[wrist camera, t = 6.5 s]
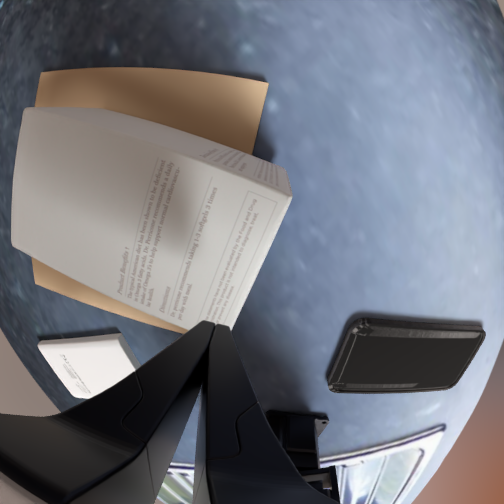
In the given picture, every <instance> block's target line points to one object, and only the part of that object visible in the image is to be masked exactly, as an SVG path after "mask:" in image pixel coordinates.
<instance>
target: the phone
mask: <svg viewBox="0 0 504 504" xmlns="http://www.w3.org/2000/svg"><path fill="white" fill-rule="evenodd" d="M485 336H486V333H485V331H484V330H483V329H482V328H481V327H480V326H467V325H448V324H433V323H419V322H406V321H394V320H383V319H373V318H361V319H357V320H356V321H354V322H353V323H352V324H351V325H350V326H349V328H348V330H347V333H346V335H345V338H344V340H343V343H342V345H341V348H340V350H339V353H338V355H337V357H336V360H335V362H334V365H333V367H332V369H331V371H330V374H329V376H328V379H327V382H328V387H329V390H330V391H332V392H335V393H358V394H383V393H413V392H429V391H441V390H448V389H450V388H452V387H453V386H455V385H456V384H457V383H458V381H459V380H460V378H461V377H462V375H463V374H464V372H465V371H466V369H467V368H468V366H469V365H470V363H471V361H472V360H473V358H474V356H475V355H476V353H477V351H478V350H479V348H480V346H481V345H482V343H483V341H484V339H485Z"/></svg>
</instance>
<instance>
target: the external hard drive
mask: <svg viewBox="0 0 504 504" xmlns="http://www.w3.org/2000/svg"><path fill="white" fill-rule="evenodd" d="M38 347H39V350H40V351H41V353H42V354H43V356H44V357H45V359H46V360H47V362H48V363H49V364H50V366H51V367H52V369H53V370H54V371H55V373H56V374H57V376H58V377H59V378H60V380H61V381H62V382H63V384H64V385H65V386H66V387H67V389H68V390H69V391H70V393H71V394H72V395H73V396H74V397H78V398H89V399H90V398H91V397H93V396H95V395H97V394H99V393H101V392H103V391H104V390H106V389H108V388H110V387H111V386H113V385H115V384H116V383H118V382H119V381H121V380H122V379H124V378H125V377H126V376H128V375H129V374H130V373H132V372H133V371H134V372H135V370H136V369H138V368H139V367H140V366H141V365H140V363H139V362H138V360H137V358H136V357H135V355H134V353H133V352H132V350H131V348H130V347H129V345H128V343H127V342H126V340H125V338H124V336H123V335H122V333H117V334H108V335H100V336H90V337H80V338H68V339H56V340H42V341H40V343H39V344H38Z"/></svg>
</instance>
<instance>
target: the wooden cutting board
mask: <svg viewBox="0 0 504 504" xmlns="http://www.w3.org/2000/svg"><path fill="white" fill-rule="evenodd" d="M268 86H269V83H266V82H261V81H256V80H250V79H245V78H239V77H233V76H227V75H220V74H213V73H205V72H197V71H187V70H176V69H162V68H139V67H105V68H83V69H69V70H59V71H50V72H42V73H41V76H40V80H39V85H38V90H37V96H36V102H35V107H82V108H102V109H106V110H111V111H115V112H119V113H123V114H126V115H130V116H134V117H138V118H141V119H145V120H148V121H152V122H155V123H159V124H162V125H165V126H169V127H172V128H175V129H178V130H181V131H184V132H187V133H190V134H193V135H196V136H199V137H202V138H205V139H208V140H211V141H214V142H217V143H219V144H222V145H225V146H228V147H230V148H233V149H236V150H239V151H241V152H244V153H247V154H249V155H252V153H253V149H254V144H255V140H256V136H257V131H258V127H259V123H260V119H261V114H262V110H263V106H264V102H265V98H266V94H267V90H268ZM32 263H33V271H34V278H35V284H38V285H40V286H42V287H45V288H47V289H50V290H52V291H55V292H57V293H60V294H62V295H65V296H68V297H70V298H73V299H76V300H78V301H81V302H84V303H86V304H89V305H92V306H95V307H98V308H101V309H103V310H106V311H109V312H112V313H115V314H118V315H121V316H125V317H128V318H131V319H134V320H137V321H141V322H144V323H147V324H150V325H154V326H157V327H161V328H164V329H168V330H171V331H175V332H179V333H182V334H185V333H186V332H187V331H189V330H187V329H185V328H182V327H179V326H177V325H174V324H172V323H169V322H166V321H164V320H161V319H159V318H157V317H154V316H152V315H149V314H147V313H145V312H143V311H140V310H138V309H135V308H133V307H131V306H129V305H127V304H124V303H122V302H120V301H117V300H115V299H113V298H111V297H109V296H107V295H105V294H102V293H100V292H98V291H96V290H94V289H92V288H90V287H88V286H86V285H84V284H82V283H80V282H78V281H76V280H74V279H72V278H70V277H68V276H66V275H65V274H63V273H61V272H59V271H57V270H55V269H53V268H51V267H49V266H48V265H46V264H44V263H42V262H40V261H39V260H37V259H35V258H33V257H32Z"/></svg>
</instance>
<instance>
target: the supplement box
mask: <svg viewBox="0 0 504 504" xmlns="http://www.w3.org/2000/svg"><path fill="white" fill-rule="evenodd" d="M291 200H292V190H291V187H290V182H289V178H288V175H287V171H286V170H285V169H284V168H283V167H280V166H278V165H275V164H272V163H270V162H267V161H265V160H262V159H260V158H257V157H255V156H252V155H249V154H247V153H244V152H241V151H239V150H236V149H233V148H230V147H228V146H225V145H222V144H219V143H217V142H214V141H211V140H208V139H205V138H202V137H199V136H196V135H193V134H190V133H187V132H184V131H181V130H178V129H175V128H172V127H169V126H165V125H162V124H159V123H155V122H152V121H148V120H145V119H141V118H138V117H134V116H130V115H126V114H123V113H119V112H115V111H111V110H106V109H102V108H82V107H28V108H25V110H24V112H23V117H22V123H21V128H20V134H19V140H18V146H17V153H16V160H15V169H14V176H13V192H12V215H11V241H12V246H13V247H15V248H17V249H19V250H21V251H23V252H24V253H26V254H28V255H30V256H31V257H33V258H35V259H37V260H39V261H40V262H42V263H44V264H46V265H48V266H49V267H51V268H53V269H55V270H57V271H59V272H61V273H63V274H65V275H66V276H68V277H70V278H72V279H74V280H76V281H78V282H80V283H82V284H84V285H86V286H88V287H90V288H92V289H94V290H96V291H98V292H100V293H102V294H105V295H107V296H109V297H111V298H113V299H115V300H117V301H120V302H122V303H124V304H127V305H129V306H131V307H133V308H135V309H138V310H140V311H143V312H145V313H147V314H149V315H152V316H154V317H157V318H159V319H161V320H164V321H166V322H169V323H172V324H174V325H177V326H179V327H182V328H185V329H187V330H190V329H191V328H193V327H194V326H195V325H197V324H198V323H199V322H201V321H202V320H206V321H210V322H214V323H215V325H216V324H223V325H227V326H229V327H230V330H232V328H233V326H234V324H235V321H236V319H237V317H238V315H239V313H240V311H241V309H242V307H243V304H244V302H245V300H246V298H247V296H248V294H249V292H250V290H251V288H252V285H253V283H254V281H255V279H256V277H257V275H258V273H259V270H260V268H261V266H262V264H263V262H264V259H265V257H266V255H267V253H268V251H269V248H270V246H271V244H272V242H273V240H274V238H275V235H276V233H277V231H278V229H279V227H280V224H281V222H282V220H283V218H284V215H285V213H286V211H287V209H288V206H289V204H290V202H291Z"/></svg>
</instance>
